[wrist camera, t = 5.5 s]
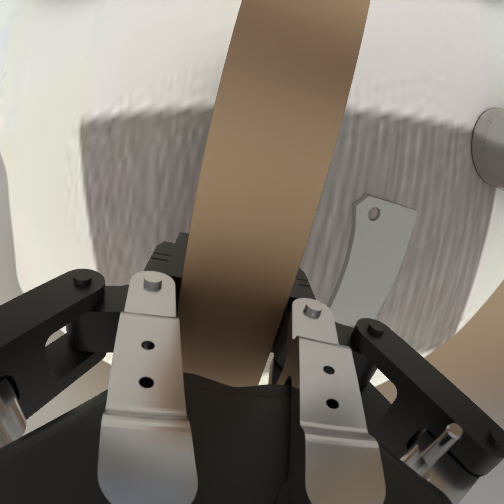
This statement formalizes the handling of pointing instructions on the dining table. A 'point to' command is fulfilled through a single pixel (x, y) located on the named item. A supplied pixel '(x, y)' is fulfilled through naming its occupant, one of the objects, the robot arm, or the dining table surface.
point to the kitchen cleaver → (371, 259)
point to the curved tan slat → (263, 178)
